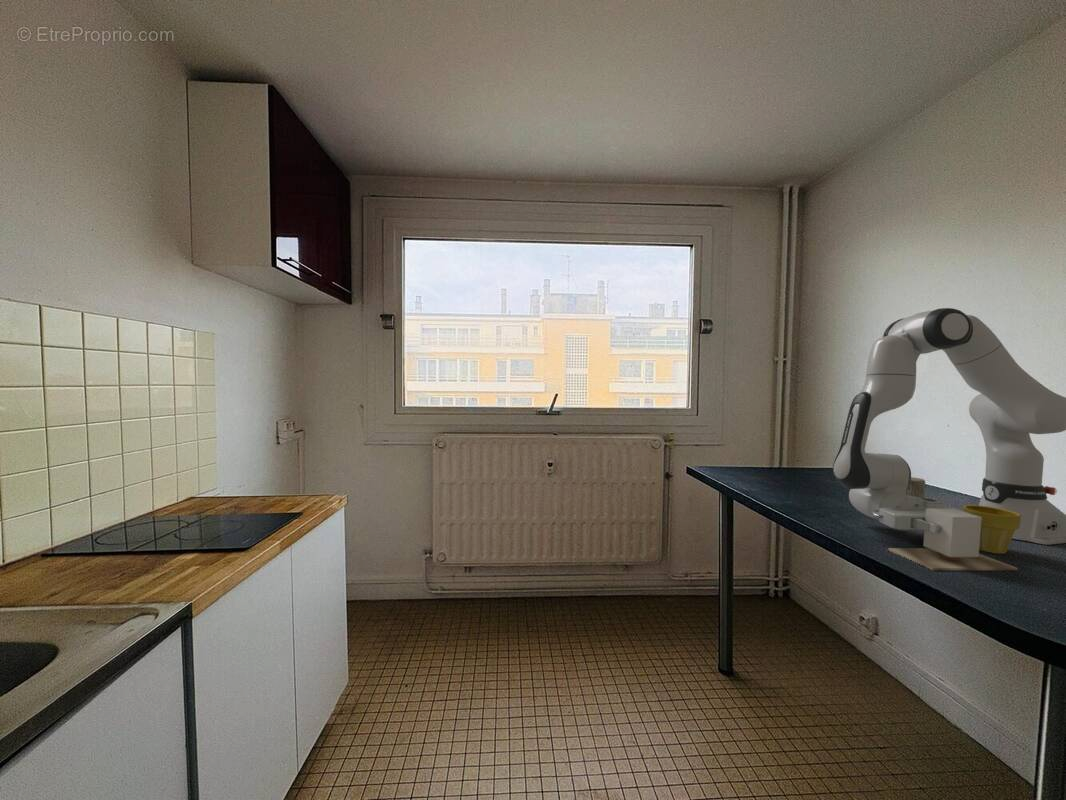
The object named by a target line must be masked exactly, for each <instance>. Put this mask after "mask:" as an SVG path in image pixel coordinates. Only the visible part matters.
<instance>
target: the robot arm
mask: <svg viewBox="0 0 1066 800" xmlns="http://www.w3.org/2000/svg"><path fill="white" fill-rule="evenodd" d="M940 350H941V351H942V352H944V353H945V354H946V356H947V358H948V359H949V361H950V362H951V364H952V366H953V367H954V368H955V369H956V370H957V372H958V373H959V375H960V376H961V377H962V379H963V380H964V382H965V383H966V384H967V386H969V388H971V389H972V390H975V391H976V392H978V393H980V394H978V395H976V396H974V398H972V400H971V401H970V403H969V405H968V411H969V412H968V413H969V416H970V417H971V419H972V420H973V421H974V422H975V423H976V425H978V428H979V429H980V432H981V435H982V437H983V440H984V441H983V442H984V445H985V453H986V456H985V457H986V458H985V476H984V478H982V483H981V491H982V493H983V494H982V495H981V496H980V500H979V503H978V505H980V506H988V507H994V508H1000V509H1005V510H1009V511H1012V512H1015V513H1018V514H1020V516H1021V519H1020V526H1019V529H1017V530H1015V532H1014V534H1013V537H1012V539H1013V540H1019V541H1026V542H1031V543H1035V544H1039V545H1057V544H1059V545H1060V544H1066V514H1065V513H1064V512H1063V511H1062V510H1061V509H1059V508H1058V507H1057V506H1055V505H1054V504H1053V503H1051V502H1050V501H1049V500H1048V496H1047V494H1048V495H1049V496H1050V495H1051V496H1055V495H1056V494H1057V492H1058V490H1057V488H1056V487H1054V486H1053V487H1052V486H1051V487H1050V486H1047V485H1045V486H1044V485H1043V476H1044V475H1043V474H1044V473H1043V472H1044V462H1045V459H1044V455H1043V454H1042V453H1041V452H1040V450H1038V449H1037V447H1035V445H1034V442H1033V441H1032V438H1031V435H1030V434H1034V435H1048V434H1057V433H1062V432H1065V431H1066V397H1065V396H1063V395H1061V394H1058V393H1056V392H1054V391H1053V390H1051V389H1049V388H1047V387H1046V386H1045V385H1043V384H1042V383H1041V382H1039V380H1037V379H1035V377H1033V376H1031V375H1030V374H1029V373H1028V372H1026V371H1025V370H1024V369H1023V368H1022V366H1020V365H1019V364H1018V362H1016V360H1015V359H1014V358H1013V356H1012V355H1011V354H1010V352H1009V351H1008V350H1007V348H1006V347H1005V346H1004V344H1003V343H1002V342H1001V340H1000V339H999V338H998V337H997V335H996V334H995V333H994V332H993V331H992V330H991V329H990V327H988V326H987V325H986V324H985V323H984V322H983V321H982V320H981V319H979V318H978V317H977V316H975V315H972V314H966V313H964V312H963V311H961V310H959V309H957V308H953V307H952V308H951V307H950V308H949V307H946V308H945V307H944V308H943V307H941V308H937V309H934V310H928V311H922V312H918V313H915V314H912V315H911V316H910V315H909V316H907V317H905V318H904V317H903V318H900V319H898V320H896V321H893V322H892V323H890V324H889V325H888V326H887V328H886V329H885V331H884V332H883V334H882V337H880V338H878V339H876V340H875V341H873V343H872V345H871V349H870V352H869V355H868V361H867V364H866V371H865V372H866V373H865V375H866V376H865V381H864V385H863V387H862V389H861V391H860V392H859V393H857V394H856V395H855V396H854V398H853V399H852V400H851V404H850V406H849V409H848V413H847V417H846V422H845V426H844V429H843V434H842V438H841V442H840V446H839V450H838V452H837V454H836V457H835V458H834V461H833V464H832V472H833V476H834V477H835V479H836V480H837V481H838V483H839V484H840V485H841V486H843V487H844V488H846V489H848V490H849V492H848V499H849V502H850V503H851V506H853V508H855V509H856V510H857V511H858V512H860V513H861V514H864V515H865V516H868V517H870V518H872V519H874V520H877V521H878V522H879V523H881V524H883V525H885V526H887V527H889V528H891V529H894V530H901V531H907V532H911V531H917V530H918V531H925V530H927V531H931V532H934V533H940V532H941V528H942V527H941V525H939V524H936V523H930V522H926V521H925V517H926V508H930V509H956V510H959V511H962V510H963V509H959V508H957V507H953V506H950V505H947V504H943V503H942V501H940V500H938V499H932V498H931V499H929V498H925V497H924V498H918V497H915V496H911V495H907V494H906V493H907V491H908V488H909V485H910V482H911V477H912V470H911V468H910V467H911V466H909V464H908V462H907V461H906V460H905V458H903V457H902V456H900V455H898V454H891V453H889V454H888V453H872V452H871V453H870V452H866V446H867V441H868V436H869V432H870V428H871V425H872V422H873V421H874V420H875V418H877V417H879V416H880V415H881V414H884V413H887V412H890V411H893V410H896V409H898V408H901V407H903V406H905V405H906V404H907V403H908V402H909V401H910V400H912V399H913V396H914V395H915V391H916V387H917V383H916V382H917V361H918V359H919V358H920V355H924V354H929V353H933V352H937V351H940ZM962 512H965V511H962ZM966 513H968V512H966ZM969 514H970V513H969ZM1012 539H1011V540H1012Z"/></svg>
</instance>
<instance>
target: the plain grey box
mask: <svg viewBox="0 0 1066 800" xmlns="http://www.w3.org/2000/svg"><path fill="white" fill-rule="evenodd" d="M959 510H960V509H959ZM959 510H956V509H930V508H926V517H925V521H926V522H930V523H936V524H939V525H941V527H942V528H941V532H940V533H934V532H931V531H927V530H923V533H924V534H923V547H924V548H929V549H932V550H934V551H937V552H939V553H942V554H944V555H947V556H949V557H978V556H979V554H980V550H979V544H980V531H981V519H982V517H979V516H976V515H972V514H969V513H966V512H962V511H959Z"/></svg>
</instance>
